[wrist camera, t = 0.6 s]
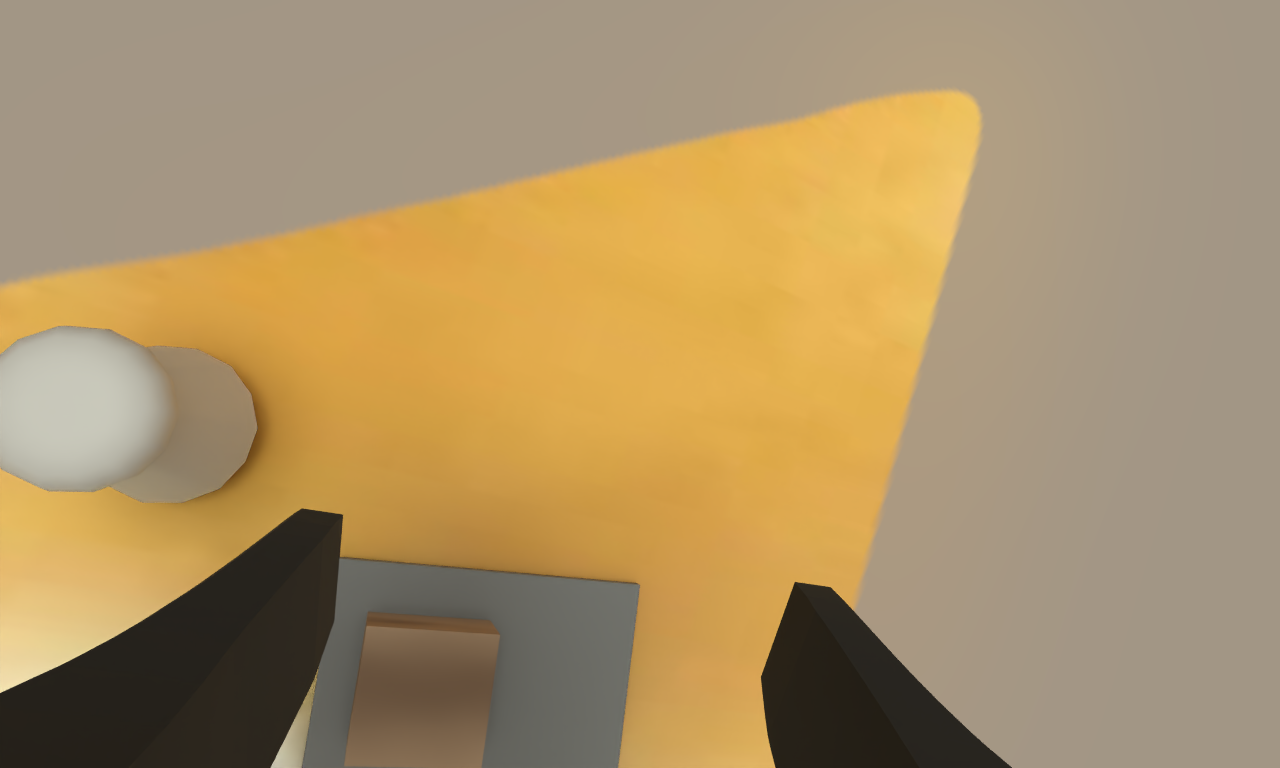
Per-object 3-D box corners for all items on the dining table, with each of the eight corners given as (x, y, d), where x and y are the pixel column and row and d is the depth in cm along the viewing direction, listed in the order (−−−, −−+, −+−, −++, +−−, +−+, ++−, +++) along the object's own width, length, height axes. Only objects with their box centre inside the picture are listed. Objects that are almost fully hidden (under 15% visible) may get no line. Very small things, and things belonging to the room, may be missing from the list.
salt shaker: (293, 399, 33) (243, 365, 21) (214, 525, 32) (112, 567, 20) (154, 327, 32) (15, 245, 20) (67, 455, 31) (-141, 454, 18)
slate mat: (593, 932, 35) (597, 940, 35) (272, 947, 31) (270, 956, 31) (635, 583, 37) (640, 585, 37) (338, 556, 33) (337, 558, 33)
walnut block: (472, 742, 34) (481, 768, 31) (347, 739, 32) (344, 766, 29) (489, 620, 34) (500, 634, 32) (367, 611, 33) (366, 625, 30)
